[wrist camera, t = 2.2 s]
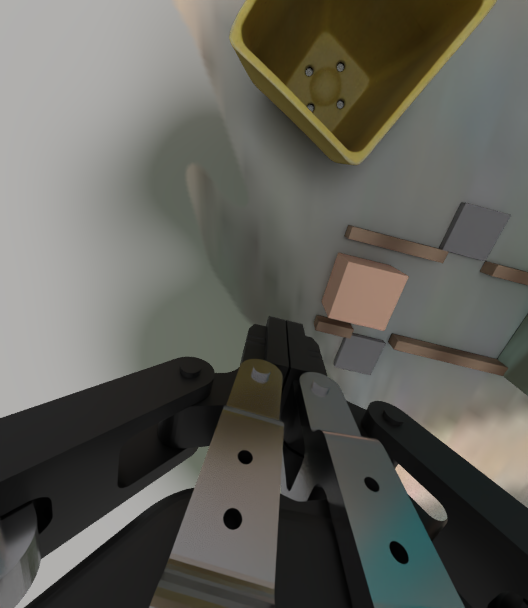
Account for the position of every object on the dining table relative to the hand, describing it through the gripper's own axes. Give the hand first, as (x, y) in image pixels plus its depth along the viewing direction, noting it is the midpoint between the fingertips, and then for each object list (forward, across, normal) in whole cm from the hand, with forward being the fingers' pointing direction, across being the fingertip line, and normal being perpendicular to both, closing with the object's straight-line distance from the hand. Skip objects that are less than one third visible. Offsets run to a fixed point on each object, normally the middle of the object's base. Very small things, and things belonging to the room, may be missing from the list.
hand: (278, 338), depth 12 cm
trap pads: (+14, -13, 0) cm, 20 cm away
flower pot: (+15, 0, -14) cm, 20 cm away
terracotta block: (+15, -8, 0) cm, 17 cm away
